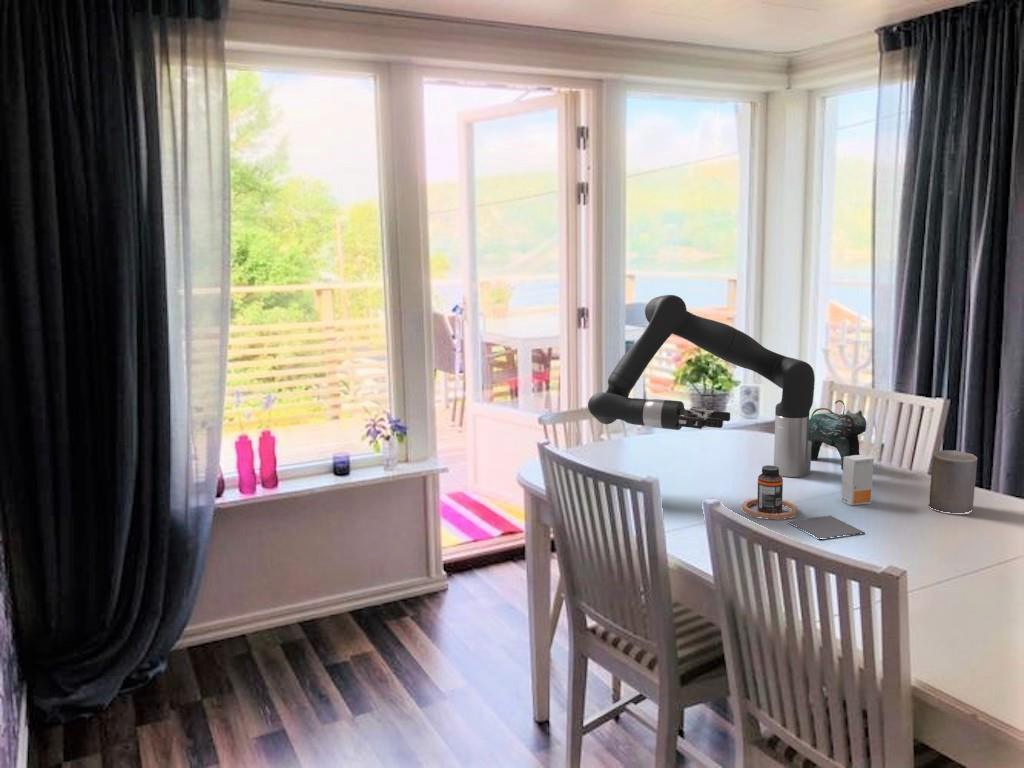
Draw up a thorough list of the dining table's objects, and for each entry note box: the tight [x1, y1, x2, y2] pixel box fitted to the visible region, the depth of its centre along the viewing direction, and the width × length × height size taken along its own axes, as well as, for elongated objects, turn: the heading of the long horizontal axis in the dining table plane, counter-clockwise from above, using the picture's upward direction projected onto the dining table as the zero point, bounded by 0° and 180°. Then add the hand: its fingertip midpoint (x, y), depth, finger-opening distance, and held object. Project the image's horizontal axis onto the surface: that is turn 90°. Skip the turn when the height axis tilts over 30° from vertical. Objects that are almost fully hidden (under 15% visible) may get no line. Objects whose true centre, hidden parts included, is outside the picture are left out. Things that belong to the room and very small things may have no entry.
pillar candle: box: [928, 449, 978, 513], centre depth 195 cm, size 10×10×15 cm
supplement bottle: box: [756, 464, 784, 514], centre depth 198 cm, size 6×6×11 cm
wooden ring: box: [741, 498, 799, 520], centre depth 199 cm, size 13×13×1 cm
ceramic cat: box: [808, 399, 867, 471], centre depth 235 cm, size 20×6×20 cm, turn 25°
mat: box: [787, 515, 865, 539], centre depth 186 cm, size 12×12×1 cm
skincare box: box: [840, 454, 875, 506], centre depth 202 cm, size 6×4×12 cm
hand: (726, 420), depth 200 cm, fingers open, 8 cm apart
